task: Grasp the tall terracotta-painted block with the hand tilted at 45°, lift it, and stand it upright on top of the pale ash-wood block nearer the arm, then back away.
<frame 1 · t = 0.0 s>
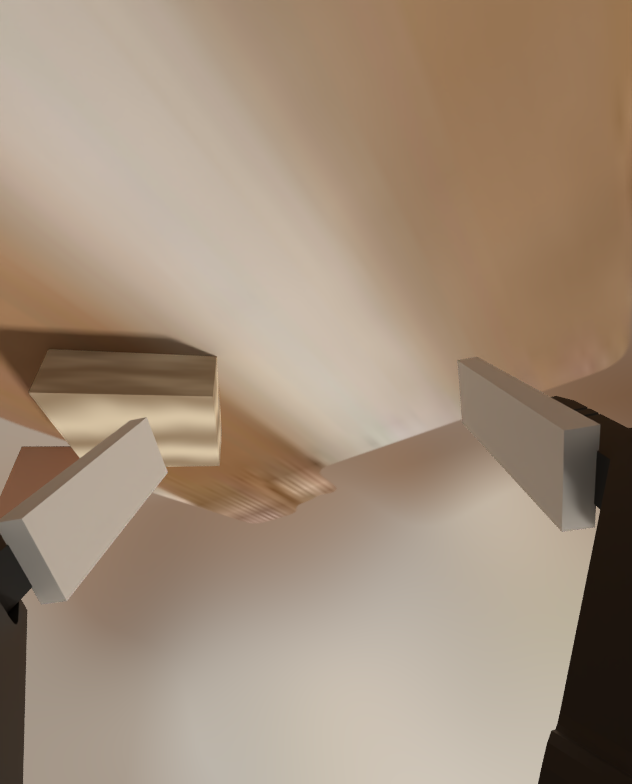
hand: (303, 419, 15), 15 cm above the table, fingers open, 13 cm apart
terracotta block: (65, 459, 46), on the table
ash block: (151, 395, 38), on the table
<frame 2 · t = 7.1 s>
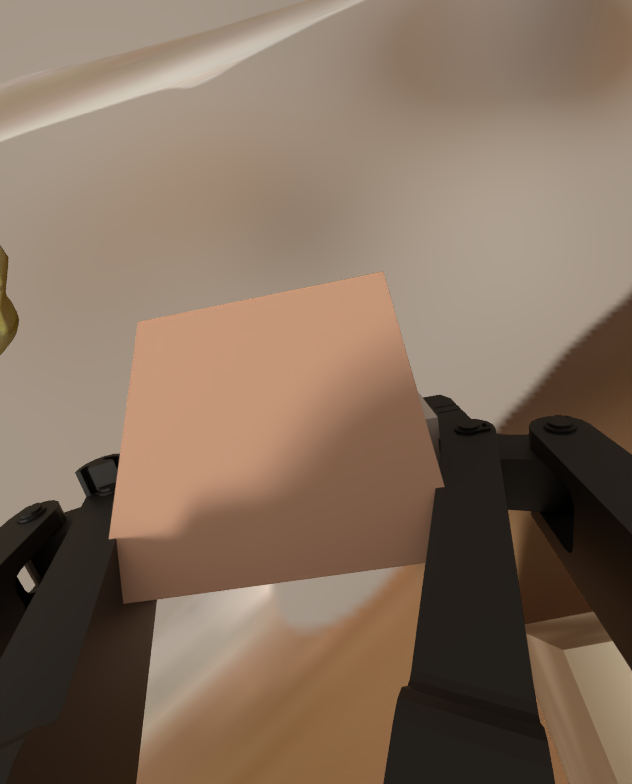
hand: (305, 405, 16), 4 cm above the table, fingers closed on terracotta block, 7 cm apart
terracotta block: (325, 496, 18), on the table, touching gripper
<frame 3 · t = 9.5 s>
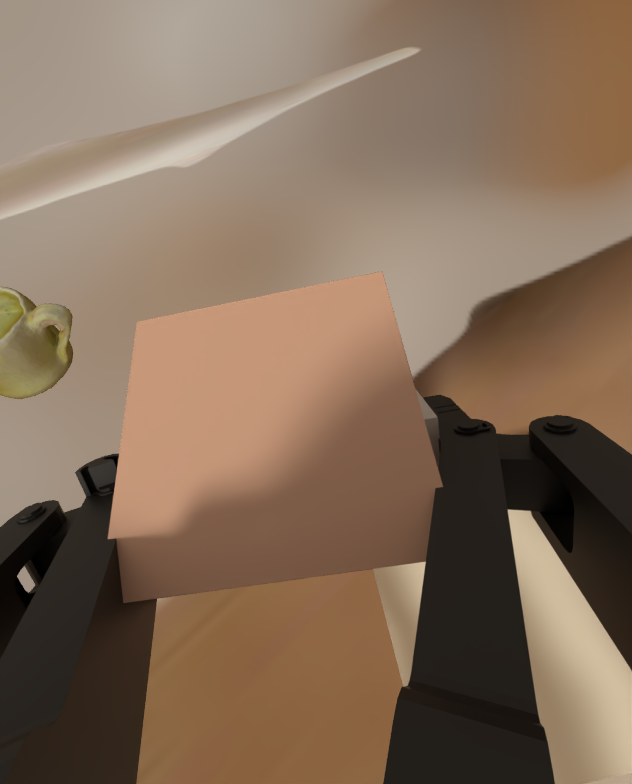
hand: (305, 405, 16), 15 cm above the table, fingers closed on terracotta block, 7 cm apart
terracotta block: (325, 496, 18), point 11 cm above the table, touching gripper
ash block: (487, 607, 25), on the table
mug: (55, 363, 40), on the table
when the fingers open (10 cm above the table, at t = 12.0 s): terracotta block drops 2 cm, point 5 cm above the table.
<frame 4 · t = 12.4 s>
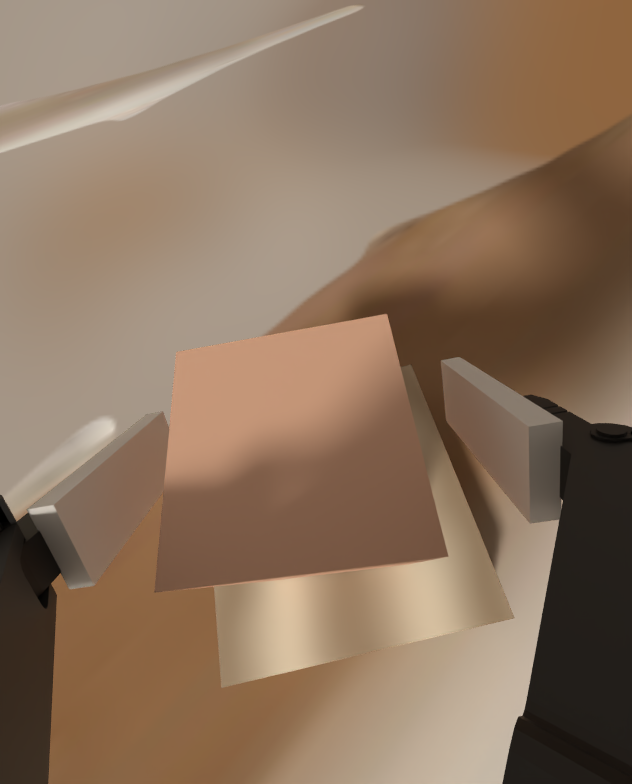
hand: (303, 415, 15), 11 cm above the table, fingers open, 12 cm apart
terracotta block: (330, 502, 20), point 5 cm above the table
ash block: (339, 513, 24), on the table
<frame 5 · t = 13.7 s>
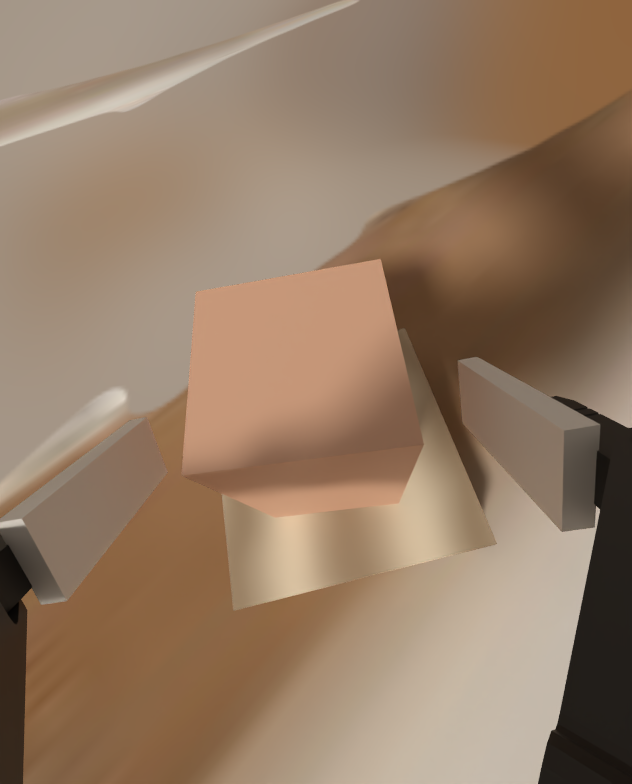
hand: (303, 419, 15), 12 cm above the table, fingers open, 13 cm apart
terracotta block: (329, 450, 21), point 5 cm above the table, touching ash block
ash block: (338, 469, 26), on the table, touching terracotta block
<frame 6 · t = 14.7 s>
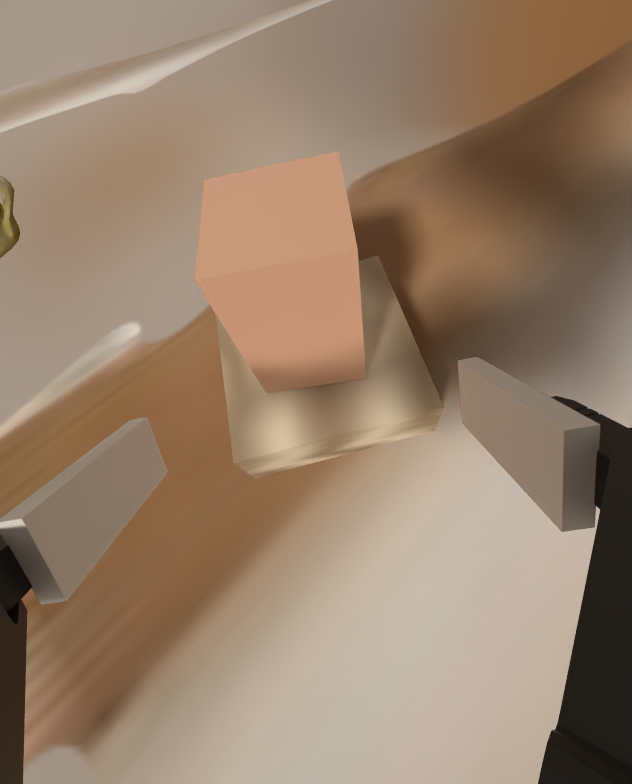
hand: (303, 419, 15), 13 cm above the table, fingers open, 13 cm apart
terracotta block: (311, 344, 26), point 5 cm above the table, touching ash block
ash block: (323, 379, 30), on the table, touching terracotta block
mug: (5, 242, 46), on the table
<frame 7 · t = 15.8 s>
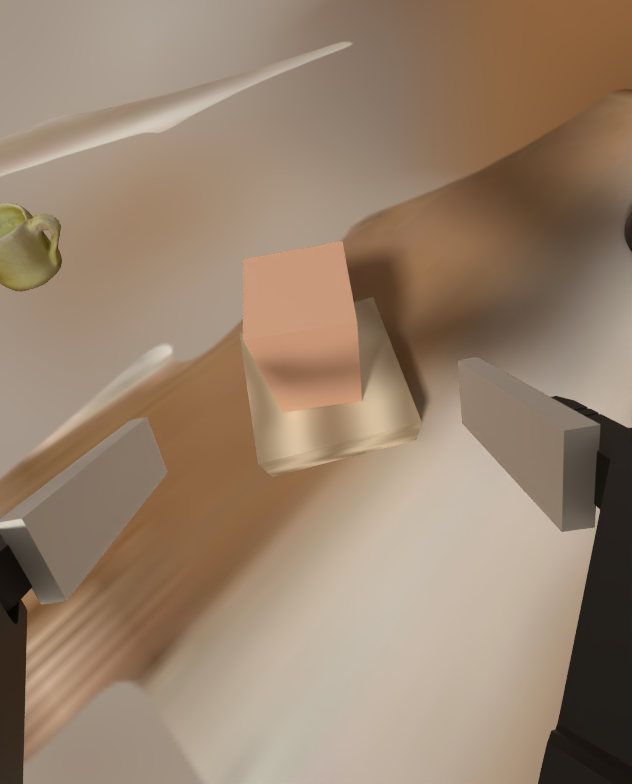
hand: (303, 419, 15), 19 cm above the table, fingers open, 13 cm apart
terracotta block: (318, 372, 33), point 5 cm above the table, touching ash block
ash block: (327, 396, 37), on the table, touching terracotta block
mug: (48, 269, 53), on the table
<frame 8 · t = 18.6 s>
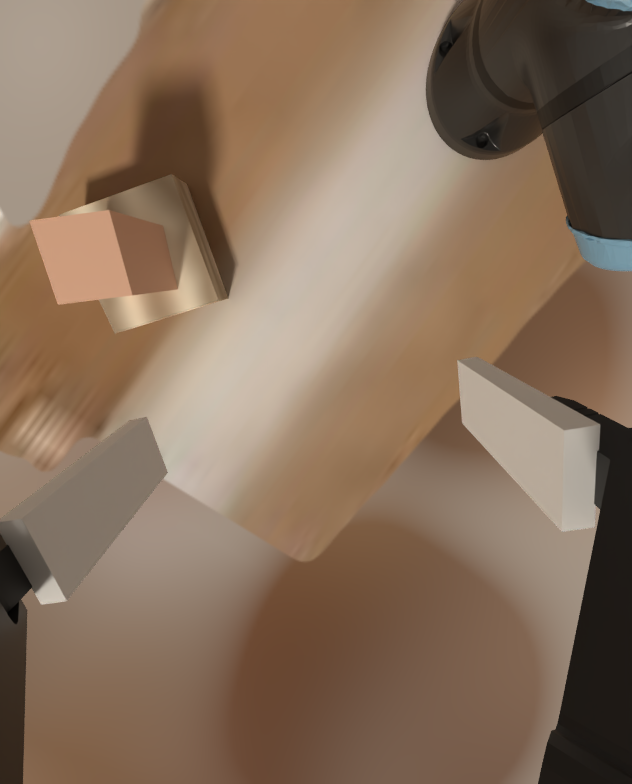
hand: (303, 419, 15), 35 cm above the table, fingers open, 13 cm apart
terracotta block: (141, 262, 42), point 5 cm above the table, touching ash block
ash block: (160, 260, 46), on the table, touching terracotta block
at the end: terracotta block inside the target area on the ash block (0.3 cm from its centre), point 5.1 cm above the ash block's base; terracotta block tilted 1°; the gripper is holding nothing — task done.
